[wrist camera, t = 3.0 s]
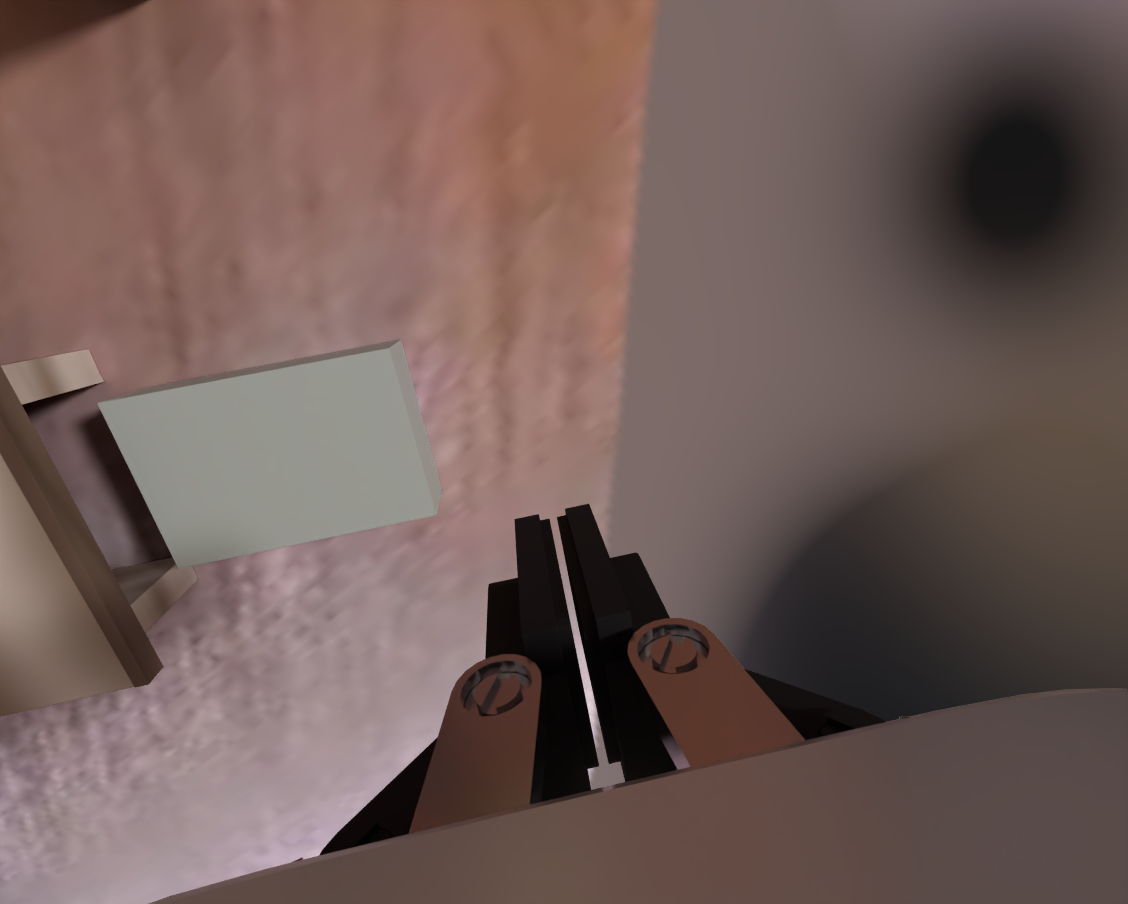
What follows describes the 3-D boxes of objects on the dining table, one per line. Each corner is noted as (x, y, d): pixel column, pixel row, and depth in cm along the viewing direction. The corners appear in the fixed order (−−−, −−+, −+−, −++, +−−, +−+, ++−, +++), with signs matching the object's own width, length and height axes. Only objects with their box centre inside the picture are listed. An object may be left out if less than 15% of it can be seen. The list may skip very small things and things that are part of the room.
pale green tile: (143, 388, 24) (97, 403, 22) (400, 339, 25) (388, 347, 22) (211, 538, 27) (178, 568, 24) (442, 490, 28) (436, 515, 25)
